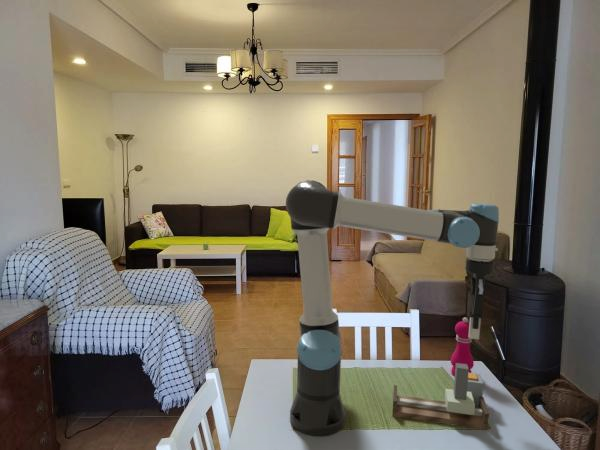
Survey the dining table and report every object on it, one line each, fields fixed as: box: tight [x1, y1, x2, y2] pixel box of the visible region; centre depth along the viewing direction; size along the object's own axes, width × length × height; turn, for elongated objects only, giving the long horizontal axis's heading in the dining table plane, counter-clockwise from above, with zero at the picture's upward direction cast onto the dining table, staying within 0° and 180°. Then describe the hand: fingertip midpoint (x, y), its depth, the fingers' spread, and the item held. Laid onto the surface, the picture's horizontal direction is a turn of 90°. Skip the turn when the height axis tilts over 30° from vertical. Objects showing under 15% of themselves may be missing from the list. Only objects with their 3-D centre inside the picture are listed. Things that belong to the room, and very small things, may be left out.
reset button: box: [468, 372, 477, 381], centre depth 130 cm, size 3×3×6 cm
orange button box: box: [467, 372, 484, 406], centre depth 130 cm, size 6×6×8 cm
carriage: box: [444, 363, 475, 415], centre depth 122 cm, size 7×7×12 cm
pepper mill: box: [450, 317, 475, 377], centre depth 147 cm, size 7×7×20 cm
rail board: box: [391, 384, 490, 430], centre depth 125 cm, size 25×9×4 cm, turn 77°
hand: (473, 337), depth 128 cm, fingers closed
